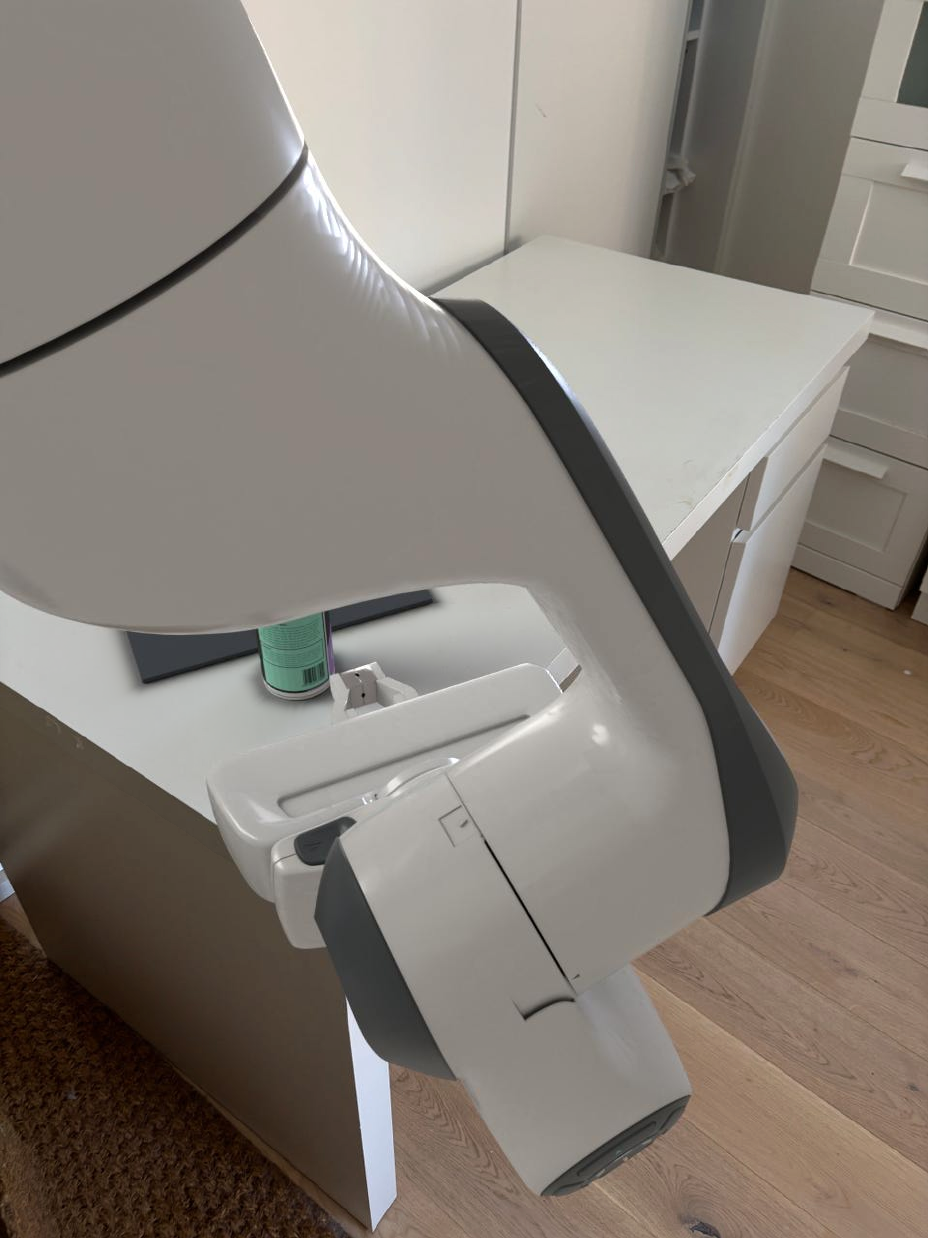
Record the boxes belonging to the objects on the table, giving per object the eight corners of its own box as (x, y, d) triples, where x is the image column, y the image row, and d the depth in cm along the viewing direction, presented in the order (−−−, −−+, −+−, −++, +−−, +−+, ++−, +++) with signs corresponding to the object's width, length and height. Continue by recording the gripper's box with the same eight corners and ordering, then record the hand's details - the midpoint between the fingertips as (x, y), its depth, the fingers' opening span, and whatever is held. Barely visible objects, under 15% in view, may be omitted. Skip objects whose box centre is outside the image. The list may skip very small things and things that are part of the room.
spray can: (346, 661, 75) (328, 432, 63) (315, 708, 71) (289, 473, 59) (283, 645, 77) (253, 418, 64) (249, 690, 73) (210, 457, 60)
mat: (143, 683, 73) (142, 679, 73) (90, 520, 90) (89, 517, 89) (432, 602, 81) (432, 598, 81) (335, 466, 98) (335, 463, 97)
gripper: (634, 741, 50) (509, 590, 59) (244, 884, 43) (174, 686, 52) (619, 819, 54) (505, 666, 63) (261, 961, 47) (193, 765, 56)
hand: (352, 676), depth 58 cm, fingers closed
